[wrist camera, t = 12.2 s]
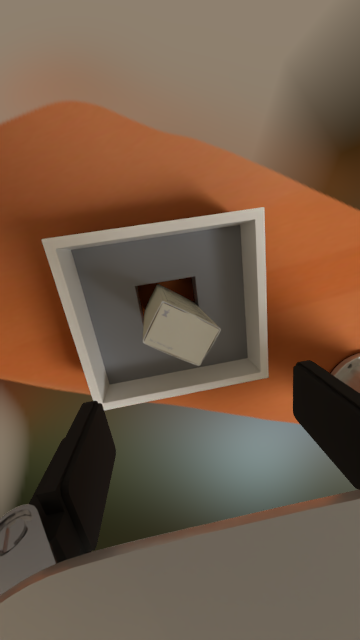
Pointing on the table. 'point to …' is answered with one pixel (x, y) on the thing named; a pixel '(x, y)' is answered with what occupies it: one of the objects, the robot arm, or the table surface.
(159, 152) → the table surface
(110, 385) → the bore box
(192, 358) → the skincare box
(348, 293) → the table surface
